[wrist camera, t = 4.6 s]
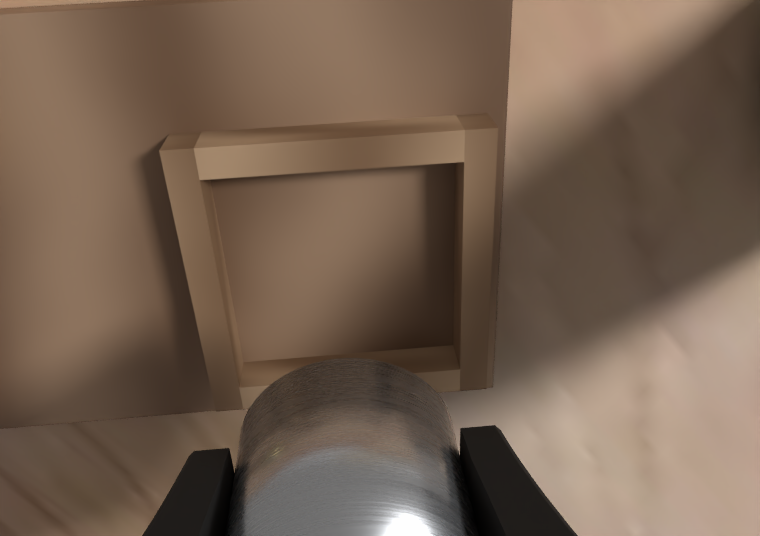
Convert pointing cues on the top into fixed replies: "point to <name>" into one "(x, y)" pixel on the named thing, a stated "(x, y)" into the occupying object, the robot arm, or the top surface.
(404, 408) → the silver knobbed cylinder
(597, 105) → the top surface
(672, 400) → the top surface
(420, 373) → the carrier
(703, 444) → the top surface
